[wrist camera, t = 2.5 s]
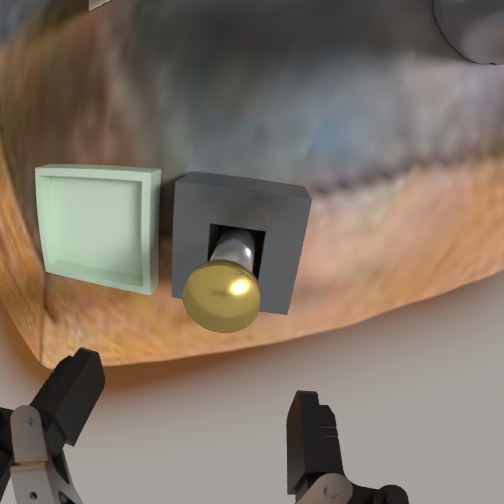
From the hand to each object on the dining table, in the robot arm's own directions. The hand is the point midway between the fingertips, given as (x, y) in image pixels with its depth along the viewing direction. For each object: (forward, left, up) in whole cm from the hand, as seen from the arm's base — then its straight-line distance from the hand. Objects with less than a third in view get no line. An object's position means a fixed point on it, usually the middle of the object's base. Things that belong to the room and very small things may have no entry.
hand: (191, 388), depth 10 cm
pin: (0, 0, -19) cm, 19 cm away
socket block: (0, 0, -19) cm, 19 cm away
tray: (+15, +1, -19) cm, 24 cm away
